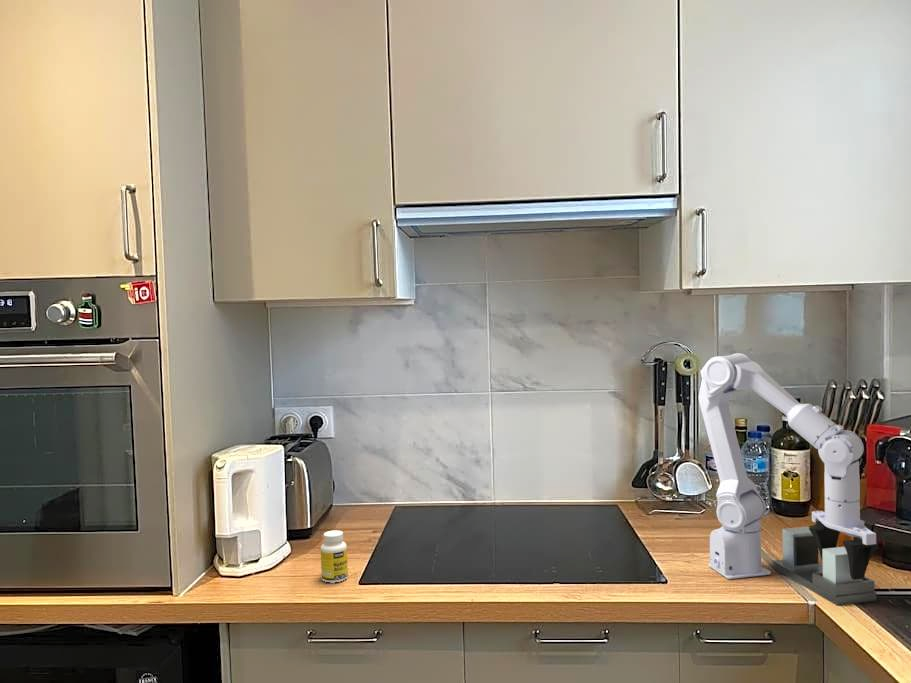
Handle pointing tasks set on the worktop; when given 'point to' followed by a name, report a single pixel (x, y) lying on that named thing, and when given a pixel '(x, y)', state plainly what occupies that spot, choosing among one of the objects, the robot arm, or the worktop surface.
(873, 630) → the worktop surface
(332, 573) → the supplement bottle
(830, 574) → the pale green upright block
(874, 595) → the grey block holder
